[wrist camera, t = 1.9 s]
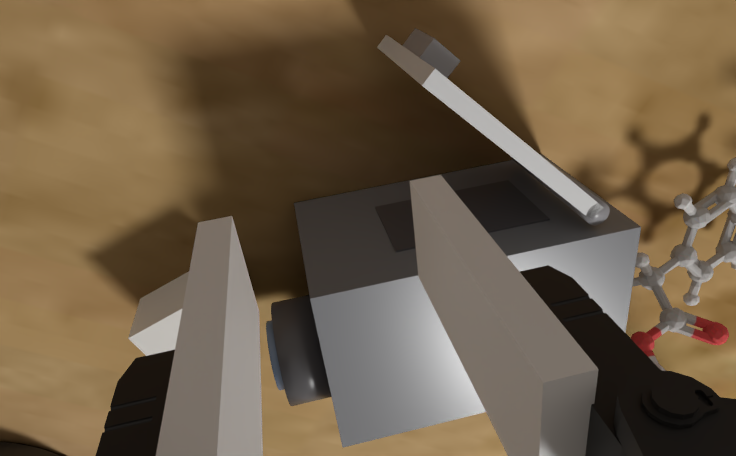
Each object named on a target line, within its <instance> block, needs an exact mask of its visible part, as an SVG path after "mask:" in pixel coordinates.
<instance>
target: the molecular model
mask: <svg viewBox="0 0 736 456" xmlns="http://www.w3.org/2000/svg"><path fill="white" fill-rule="evenodd" d="M727 166H728V168H729V173H728V176H727V179H726V183H725V185H723V186H720V187H718V188H717V189H716V190H715V191H714V192H712V193H711V194H709V195H708V196H706V197H705V198H703V199H702V200H700V201H699V202H697V203H696V204H694V205H693V204H692V199H691V197H690V196H689V195H687V194H683V193H682V194H680V195H678V196H676V197H675V199H674V204H675V206H676V207H677V208H679V209H684V215H683V219H684V222H685V224H686V225H687V226H688V228H687V231H686V234H685V237H684V240H683V243H682V244H679V245H677V246H675V247H674V249H673V250H672V252H671V255H670V257H671V260H669V261H668V262H667V263H665V264H664V265H662V266H661V267H659V268H656V267H651V266H650V265H649V262H650V261H649V257H648V255H646V254H645V253H637V257H636V264H635V266H636V267H638V268H640V269H641V272H640V273H639V277H637V278H633V284H632V286H637V285H642V286H643V287H645V288H647V289H648V290H653V292H654V294H655V296H656V298H657V300H658V302H659V304H660V306H661V308H662V310H663V311H662V312H661V314H660V323H659V324H657V325H656V326H655V327H653V328H652V329H651V330H649V331H648V332H647V333H644V332H636V333H634V334H632V337H631V339H632V341H633V342H634V343H635V344H636V345H637V346H638V347H639V348H640V349H641V350H642V351H643V352H644V353H645V354H646V355H647V356H648V357H649V358H650V359H651V360H652V361H653V363H654V364H655V365H656V366H657V367H658V368H659V369H660V370H662V371H666V370H665V369H664V368H663V367H662V366H661V365H659V363H658V361H657V359H656V357H655V355H654V353H653V351H652V349H653V348H654V340H656V339H657V338H658V337H660V336H661V335H662V334H664V333H665V332H666V331H668V330H669V331H671V332H678V333H681V334H683V335H686V336H689V337H692V338H695V339H698V340H701V341H703V342H706V343H709V344H712V345H721V344H723V343H725V342H726V341H727V339H728V337H729V332H728V330H727V328H726V327H725V326H723V325H722V324H720V323H717V322H712V321H709V320H706V319H703V318H700V317H697V316H694V315H692V314H689V313H686V312H683V311H682V310H680V309H678V308H672V306H671V304H670V302H669V300H668V298H667V297H666V295H665V293H664V291H663V289H662V285H663V283H664V280H665V276H664V274H666V273H667V272H669V271H670V270H672V269H673V268H675V267H677V266H681V267H685V268H686V269H687V270H688V271H687V273H688V275H689V277H690V278H691V279H692V283H691V286H690V289H689V291H688V293H686V294H685V295H684V296H683V300H684V302H685V303H686V304H687V305H690V306H693V305H696V304H697V303H698V302H699V296H698V292H699V289H700V286H701V284H702V282H707V281H708V280H710V279H711V278H712V276H713V273H714V272H713V268H714V267H716V266H717V265H718V264H720V263H721V262H722V261H724V262H731V267H732V268H734V269H736V233H735V236H734V239H733V241H730V239H731V236H732V234H733V231H734V228H735V225H736V187H735V184H736V157H735V158H733V159H731V160H730V161H729V163H728V164H727ZM713 203H716V204H717V205H716V206H715V207H713V208H712V209H710V210H709V211H708V209H706V208H708V207H709V206H711V205H712V204H713ZM728 208H729V209H730V210H729V211H728V213H727V214H728V217H727V220H726V223H725V226H724V229H723V231H722V234H721V237H720V240H719V243H718V246H717V247H716V255H714V256H713V257H712V258H710V259H709V260H707V261H706V262H705V261H701V260H700V261H699V260H698V259H697V252H696V251H695V249H694V248H693V247H692V243H693V241H694V238H695V235H696V232H697V230H698V229H699V228H702V227H705V226H706V224H708V223H709V222H710V221H712V220H713V219H714V218H716V217H717V216H718V215H720V214H721V213H722V212H724V211H725V210H726V209H728ZM686 323H688V324H691V325H694V326H697V327H700V328H703V331H700V330H697V329H694V328H691V327H688V326H686Z"/></svg>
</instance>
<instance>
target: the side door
mask: <svg viewBox="0 0 736 456" xmlns="http://www.w3.org/2000/svg"><path fill="white" fill-rule="evenodd" d="M377 48H378V49H379V50H381V51H382V52H383V53H384V54H385V55H386V56H388V57H389V58H390V59H391V60H392V61H394V62H395V63H396V64H397V65H398V66H399V67H401V68H402V69H403V70H404V71H405V72H406V73H408V74H409V75H410V76H411V77H412V78H414V79H415V80H416V81H417V82H418V83H419V84H421V85H422V86H423V87H424V88H426V89H427V90H428V91H429V92H431V93H432V94H433V95H434V96H436V97H437V98H438V99H439V100H441V101H442V102H443V103H444V104H446V105H447V106H448V107H449V108H451V109H452V110H453V111H455V112H456V113H457V114H458V115H460V116H461V117H462V118H463V119H465V120H466V121H467V122H468V123H470V124H471V125H472V126H473V127H475V128H476V129H477V130H478V131H480V132H481V133H482V134H484V135H485V136H486V137H487V138H489V139H490V140H491V141H492V142H494V143H495V144H496V145H497V146H499V147H500V148H501V149H502V150H504V151H505V152H506V153H507V154H509V155H510V156H511V159H512V160H513V161H515V162H516V163H517V164H518V165H519V166H521V167H522V168H523V169H524V170H525V171H527V172H528V173H529V174H530V175H531V176H533V177H534V178H535V179H536V180H537V181H538V182H540V183H541V184H542V185H543V186H544V187H546V188H547V189H548V190H549V191H550V192H552V193H553V194H554V195H555V196H556V197H558V198H559V199H560V200H561V201H562V202H564V203H565V204H566V205H567V206H568V207H570V208H571V209H572V210H573V211H574V212H575V213H577V214H578V215H579V216H580V217H581V218H583V219H584V220H585V221H586V222H587V223H589V224H590V225H599V224H601V223H603V222H604V221H605V220H606V219H607V217H608V216H609V212H610V209H609V206H608V205H607V204H606V203H604V202H603V201H602V200H600V199H599V198H598V197H596V196H595V195H594V194H592V193H591V192H590V191H588V190H587V189H586V188H584V187H583V186H582V185H580V184H579V183H578V182H576V181H575V180H573V179H572V178H571V177H569V176H568V175H567V174H565V173H564V172H563V171H561V170H560V169H559V168H557V167H556V166H555V165H553V164H552V163H551V162H549V161H548V160H546V159H545V158H544V157H542V156H541V155H540V154H538V153H537V152H536V151H535V150H533V149H532V148H531V147H530V146H529V145H527V144H526V143H525V142H524V141H523V140H521V139H520V138H519V137H518V136H516V135H515V134H514V133H513V132H512V131H510V130H509V129H508V128H507V127H506V126H504V125H503V124H502V123H501V122H499V121H498V120H497V119H496V118H495V117H493V116H492V115H491V114H490V113H489V112H487V111H486V110H485V109H484V108H482V107H481V106H480V105H479V104H478V103H476V102H475V101H474V100H473V99H472V98H470V97H469V96H468V95H467V94H465V93H464V92H463V91H462V90H461V89H459V88H458V87H457V86H456V85H455V84H453V83H452V82H451V81H450V80H449V79H447V78H448V76H449V75H450V74H451V73H452V71H453V70H454V69H455V67H456V66H457V65H458V64H459V62H460V60H459V59H458V58H457V57H456V56H454V55H453V54H452V53H451V52H450V51H449V50H447V49H446V48H445V47H444V46H443V45H442V44H440V43H439V42H438V41H437V40H436V39H435V38H433V37H431V36H429V35H427V34H425V33H424V32H422V31H420V30H418V29H416V28H415V29H414V30H413V32H412V33H411V35H410V36H409V37H408V39H407V40H406V41H405V43H404V44H403V45H401V44H399V43H398V42H396V41H395V40H393V39H392V38H391V37H389V36H388V35H385V37H384V38H383V40H382V41H381V42H380V44H379V45H378V47H377Z"/></svg>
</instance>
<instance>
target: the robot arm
mask: <svg viewBox="0 0 736 456" xmlns="http://www.w3.org/2000/svg"><path fill="white" fill-rule="evenodd" d="M410 191H411V202H412V213H413V224H414V234H415V245H416V256H417V267H418V277H419V279H420V281H421V283H422V285H423V287H424V289H425V291H426V293H427V295H428V297H429V299H430V301H431V303H432V305H433V307H434V309H435V311H436V313H437V315H438V317H439V319H440V321H441V323H442V325H443V327H444V329H445V331H446V333H447V335H448V337H449V339H450V341H451V343H452V345H453V347H454V349H455V351H456V353H457V355H458V357H459V359H460V361H461V363H462V365H463V367H464V369H465V371H466V373H467V375H468V377H469V379H470V381H471V383H472V385H473V387H474V389H475V391H476V393H477V395H478V397H479V399H480V401H481V403H482V405H483V407H484V409H485V411H486V413H487V415H488V417H489V419H490V421H491V423H492V425H493V427H494V429H495V431H496V433H497V435H498V437H499V439H500V441H501V443H502V445H503V447H504V449H505V451H506V453H507V455H508V456H736V399H730V398H721V397H719V396H718V395H717V394H716V393H715V392H714V391H713V390H712V389H711V388H709V387H708V386H706V385H704V384H702V383H701V382H699V381H697V380H695V379H694V378H692V377H689V376H685V375H682V374H679V373H675V372H672V371H662V370H660V369H659V368H658V367H657V366H656V365H655V364H654V363H653V361H652V360H651V359H650V358H649V357H648V356H647V355H646V354H645V353H644V352H643V351H642V350H641V349H640V348H639V347H638V346H637V345H636V344H635V343H634V342H633V341H632V339H631V338H630V337H629V336H628V335H627V334H626V333H625V332H624V331H623V330H622V329H621V328H620V327H619V326H618V325H617V324H616V323H615V322H614V321H613V320H612V319H611V317H610V316H609V315H608V314H607V313H603V309H602V308H601V307H600V306H599V305H598V304H597V303H596V302H595V301H594V300H593V299H592V298H591V299H590V298H589V294H588V293H587V292H586V291H585V290H584V289H583V288H582V287H581V286H580V285H579V284H578V283H577V282H576V281H575V280H574V279H573V278H572V277H570V276H568V275H566V274H564V273H562V272H561V271H559V270H557V269H555V268H553V267H551V266H549V265H547V266H543V267H538V268H534V269H529V270H524V271H520V272H519V270H518V269H517V268H516V267H515V266H514V264H513V263H512V262H511V261H510V259H509V258H508V257H507V256H506V254H505V253H504V252H503V251H502V250H501V248H500V247H499V246H498V245H497V243H496V242H495V241H494V240H493V238H492V237H491V236H490V235H489V234H488V232H487V231H486V230H485V229H484V227H483V226H482V225H481V224H480V222H479V221H478V220H477V219H476V218H475V216H474V215H473V214H472V213H471V211H470V210H469V209H468V208H467V206H466V205H465V204H464V203H463V202H462V200H461V199H460V198H459V197H458V195H457V194H456V193H455V192H454V190H453V189H452V188H451V187H450V186H449V184H448V183H447V182H446V181H445V179H444V178H443V177H442V176H441V175H437V176H432V177H427V178H422V179H417V180H412V181H410ZM110 407H111V411H109V413H108V416H107V419H106V423H105V426H104V428H105V432H104V433H102V436H101V440H100V443H99V446H98V450H97V453H96V456H263V445H262V406H261V367H260V328H259V309H258V306H257V302H256V299H255V295H254V292H253V288H252V285H251V281H250V277H249V274H248V270H247V267H246V263H245V260H244V256H243V253H242V249H241V246H240V242H239V238H238V235H237V231H236V228H235V224H234V221H233V217H232V216H229V217H224V218H218V219H213V220H208V221H203V222H198V226H197V231H196V237H195V242H194V248H193V253H192V259H191V264H190V270H189V275H188V281H187V286H186V292H185V297H184V303H183V308H182V314H181V319H180V325H179V330H178V336H177V341H176V347H175V350H171V351H166V352H161V353H157V354H152V355H148V356H143V357H139V358H136V359H135V360H134V361H133V363H132V364H131V365H130V367H129V368H128V369H127V370H126V372H125V373H124V374H123V376H122V377H121V378H120V379H119V381H118V383H117V386H116V389H115V393H114V396H113V399H112V403H111V406H110ZM0 456H60V455H57V454H55V453H52V452H49V451H46V450H43V449H40V448H36V447H32V446H27V445H22V444H16V443H7V442H0Z"/></svg>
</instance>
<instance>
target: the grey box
mask: <svg viewBox="0 0 736 456" xmlns="http://www.w3.org/2000/svg"><path fill="white" fill-rule="evenodd" d="M541 156H542V157H544V158H545V159H546V160H548V161H549V162H551V163H552V164H553V165H555V166H556V167H557V168H559V169H560V170H561V171H563V172H564V173H565V174H567V175H568V176H569V177H571V178H572V179H573V180H575V181H576V182H578V183H579V184H580V185H582V186H583V187H584V188H586V189H587V190H588V191H590V192H591V193H592V194H594V195H595V196H596V197H598V198H599V199H600V200H602V201H603V202H604V203H606V204H607V205H608V206H609V209H610V212H609V216H608V217H607V219H606V220H605V221H604V222H603V223H601V224H599V225H590V224H589V223H587V222H586V221H585V220H584V219H583V218H581V217H580V216H579V215H578V214H577V213H575V212H574V211H573V210H572V209H571V208H570V207H568V206H567V205H566V204H565V203H564V202H562V201H561V200H560V199H559V198H558V197H556V196H555V195H554V194H553V193H552V192H550V191H549V190H548V189H547V188H546V187H544V186H543V185H542V184H541V183H540V182H538V181H537V180H536V179H535V178H534V177H533V176H531V175H530V174H529V173H528V172H527V171H525V170H524V169H523V168H522V167H521V166H519V165H518V164H517V163H516V162H515V161H513V160H510V161H505V162H500V163H495V164H490V165H485V166H480V167H475V168H470V169H465V170H459V171H454V172H449V173H444V174H439V175H441V176H442V177H443V178H444V179H445V181H446V182H447V183H448V184H449V186H450V187H451V188H452V189H453V190H454V192H455V193H456V194H457V195H458V197H459V198H460V199H461V200H462V202H463V203H464V204H465V205H466V206H467V208H468V209H469V210H470V211H471V213H472V214H473V215H474V216H475V218H476V219H477V220H478V221H479V222H480V224H481V225H482V226H483V227H484V229H485V230H486V231H487V232H488V234H489V235H490V236H491V237H492V238H493V240H494V241H495V242H496V243H497V245H498V246H499V247H500V248H501V250H502V251H503V252H504V253H505V254H506V256H507V257H508V258H509V259H510V261H511V262H512V263H513V264H514V266H515V267H516V268H517V269H518V270H519V272H520V271H524V270H529V269H534V268H538V267H543V266H547V265H549V266H551V267H553V268H555V269H557V270H559V271H561V272H562V273H564V274H566V275H568V276H570V277H572V278H573V279H574V280H575V281H576V282H577V283H578V284H579V285H580V286H581V287H582V288H583V289H584V290H585V291H586V292H587V293H588V294H589V298H590V299H591V298H592V299H593V300H594V301H595V302H596V303H597V304H598V305H599V306H600V307H601V308H602V309H603V313H607V314H608V315H609V316H610V317H611V319H612V320H613V321H614V322H615V323H616V324H617V325H618V326H619V327H620V328H621V329H622V330H623V331H624V332H625V331H626V325H627V318H628V311H629V304H630V298H631V291H632V284H633V278H634V271H635V264H636V257H637V251H638V244H639V237H640V231H641V227H640V226H639V225H638V224H636V223H635V222H634V221H632V220H631V219H629V218H628V217H627V216H625V215H624V214H623V213H621V212H620V211H619V210H617V209H616V208H614V207H613V206H612V205H610V204H609V203H608V202H606V201H605V200H604V199H602V198H601V197H599V196H598V195H597V194H595V193H594V192H593V191H591V190H590V189H589V188H587V187H586V186H585V185H583V184H582V183H580V182H579V181H578V180H576V179H575V178H574V177H572V176H571V175H570V174H568V173H567V172H565V171H564V170H563V169H561V168H560V167H559V166H557V165H556V164H555V163H553V162H552V161H551V160H549V159H548V158H546V157H545V156H544V155H542V154H541ZM434 176H437V175H434ZM429 177H432V176H429ZM424 178H427V177H424ZM419 179H422V178H419ZM414 180H417V179H414ZM410 181H412V180H409V181H403V182H398V183H393V184H388V185H383V186H378V187H373V188H368V189H363V190H358V191H353V192H348V193H342V194H337V195H332V196H327V197H322V198H317V199H312V200H307V201H302V202H297V203H294V206H295V212H296V218H297V224H298V230H299V236H300V242H301V248H302V254H303V260H304V266H305V272H306V277H307V283H308V289H309V295H306V296H302V297H297V298H292V299H288V300H283V301H279V302H274V303H272V305H271V314H272V320H271V321H267V323H266V331H267V341H268V348H269V354H270V360H271V365H272V369H273V373H274V377H275V381H276V384H277V387H278V389H279V390H283V389H285V392H286V395H287V398H288V401H289V404H290V405H291V406H294V405H299V404H303V403H307V402H311V401H315V400H320V399H324V398H328V397H332V401H333V405H334V410H335V414H336V419H337V424H338V428H339V433H340V437H341V442H342V446H343V447H347V446H351V445H355V444H359V443H363V442H367V441H371V440H375V439H379V438H383V437H387V436H391V435H395V434H399V433H403V432H407V431H411V430H415V429H419V428H423V427H427V426H431V425H435V424H439V423H443V422H447V421H451V420H455V419H459V418H463V417H467V416H471V415H475V414H479V413H483V412H486V411H485V409H484V407H483V405H482V403H481V401H480V399H479V397H478V395H477V393H476V391H475V389H474V387H473V385H472V383H471V381H470V379H469V377H468V375H467V373H466V371H465V369H464V367H463V365H462V363H461V361H460V359H459V357H458V355H457V353H456V351H455V349H454V347H453V345H452V343H451V341H450V339H449V337H448V335H447V333H446V331H445V329H444V327H443V325H442V323H441V321H440V319H439V317H438V315H437V313H436V311H435V309H434V307H433V305H432V303H431V301H430V299H429V297H428V295H427V293H426V291H425V289H424V287H423V285H422V283H421V281H420V279H419V277H418V267H417V256H416V245H415V234H414V224H413V213H412V202H411V191H410Z"/></svg>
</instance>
